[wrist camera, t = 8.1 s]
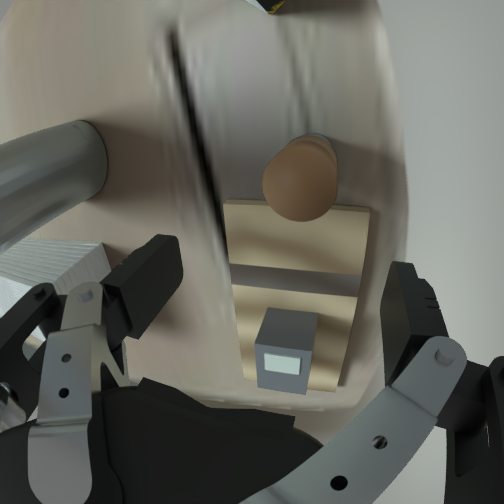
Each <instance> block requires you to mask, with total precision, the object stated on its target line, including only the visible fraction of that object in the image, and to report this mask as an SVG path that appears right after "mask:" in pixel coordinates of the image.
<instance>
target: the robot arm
mask: <svg viewBox="0 0 504 504" xmlns="http://www.w3.org/2000/svg"><path fill="white" fill-rule="evenodd" d="M106 175H107V155H106V151H105V147H104V144H103V141H102V139H101V137H100V136H99V134H98V132H97V131H96V130H95V129H94V128H93V126H91V125H90V124H88V123H87V122H84V121H79V120H76V121H72V122H68V123H65V124H61V125H57V126H54V127H50V128H47V129H43V130H40V131H37V132H34V133H31V134H28V135H25V136H22V137H19V138H17V139H14V140H11V141H8V142H6V143H3V144H1V145H0V255H1V254H2V253H4V252H5V251H6V250H8V249H9V248H11V247H12V246H13V245H15V244H16V243H18V242H19V241H21V240H22V239H23V238H25V237H26V236H28V235H29V234H31V233H32V232H34V231H35V230H37V229H38V228H40V227H41V226H43V225H45V224H46V223H48V222H49V221H51V220H53V219H54V218H56V217H57V216H59V215H61V214H62V213H64V212H66V211H67V210H69V209H71V208H73V207H74V206H76V205H78V204H80V203H81V202H83V201H85V200H87V199H88V198H90V197H92V196H94V195H95V194H96V193H98V192H99V191H100V189H101V188H102V187H103V184H104V182H105V179H106ZM182 279H183V266H182V260H181V254H180V248H179V242H178V239H177V237H176V236H172V235H162V234H157V235H156V236H154V237H153V238H152V239H151V240H150V241H149V242H147V243H146V244H145V245H144V246H142V247H140V248H138V249H136V250H134V251H133V252H132V253H131V254H130V255H129V256H128V257H127V259H124V260H123V261H122V262H121V263H120V265H118V266H117V267H115V268H114V269H113V270H112V271H111V272H110V273H109V274H108V275H107V276H106V277H105V278H104V279H103V280H101V281H100V282H99V283H97V282H85V283H82V284H80V285H78V286H76V287H75V288H73V289H72V290H71V291H70V292H69V294H68V295H58V294H57V292H56V290H55V288H54V285H53V284H52V283H49V282H44V283H40V284H38V285H36V286H34V287H32V288H31V289H30V290H29V291H28V292H27V293H26V294H25V295H23V296H22V297H21V298H20V299H19V300H18V301H17V302H16V303H15V304H14V305H13V306H12V307H11V308H10V309H9V310H8V311H7V312H6V313H5V314H4V315H3V316H2V317H1V318H0V504H372V503H373V502H374V501H375V500H376V499H377V498H378V497H379V496H380V495H381V493H383V491H384V490H385V489H386V488H387V487H388V486H389V485H390V484H391V483H392V481H393V480H394V479H395V478H396V477H397V476H398V474H399V473H400V472H401V471H402V470H403V468H404V467H405V466H406V465H407V463H408V462H409V461H410V460H411V458H412V457H413V456H414V454H415V453H416V452H417V450H418V449H419V448H420V446H421V445H422V443H423V442H424V441H425V439H426V438H427V436H428V435H429V434H430V432H431V431H432V429H433V428H434V426H438V427H441V428H444V429H446V437H447V462H446V484H445V496H444V497H445V498H444V504H504V356H500V357H497V358H495V359H494V360H493V361H492V363H491V364H490V365H489V367H486V366H483V365H480V364H477V363H474V362H471V361H468V360H467V356H466V353H465V351H464V349H463V348H462V347H461V345H460V344H459V343H457V342H456V341H455V340H453V339H451V338H449V335H448V332H447V329H446V325H445V322H444V320H443V316H442V313H441V310H440V309H439V304H438V301H436V295H435V293H434V290H433V288H432V287H431V286H430V285H429V283H428V282H427V281H426V280H425V279H420V278H418V276H417V273H416V270H415V267H414V265H413V264H412V263H405V262H397V261H393V262H392V263H391V266H390V269H389V273H388V277H387V281H386V284H385V288H384V292H383V295H382V299H381V306H380V317H381V327H382V339H383V353H384V373H385V388H384V389H383V390H382V391H381V392H380V393H379V394H378V395H377V396H376V397H375V398H374V399H373V400H372V401H371V402H370V403H369V404H368V405H367V406H366V407H365V409H363V411H362V412H360V413H359V414H358V415H357V416H356V417H355V418H354V419H353V421H351V422H350V423H349V424H348V425H347V426H346V427H345V428H344V429H343V430H342V431H341V432H339V433H338V434H337V435H336V436H335V437H334V438H333V439H332V440H331V441H329V442H328V443H327V444H326V445H325V446H324V445H322V444H321V443H320V442H319V441H318V440H317V439H315V438H314V437H312V436H311V435H309V434H307V433H305V432H304V431H302V430H300V429H297V428H294V427H293V425H294V421H295V416H289V415H283V414H278V413H272V412H267V411H262V410H256V409H224V408H223V409H222V408H210V407H207V406H205V405H203V404H201V403H199V402H198V401H196V400H194V399H193V398H191V397H189V396H188V395H186V394H184V393H183V392H181V391H179V390H178V389H176V388H174V387H171V386H168V385H165V384H162V383H159V382H156V381H153V380H150V379H147V378H145V377H143V378H142V380H141V382H140V383H139V385H138V386H130V383H129V375H128V366H127V356H126V346H125V343H124V340H123V339H124V338H125V337H126V336H129V337H132V338H135V339H138V340H139V338H140V337H141V336H142V334H143V333H144V331H145V330H146V329H147V327H148V326H149V325H150V323H151V322H152V321H153V320H154V318H155V317H156V316H157V314H158V313H159V312H160V310H161V309H162V308H163V306H164V305H165V304H166V302H167V301H168V300H169V299H170V297H171V296H172V295H173V293H174V292H175V291H176V289H177V288H178V287H179V286H180V284H181V282H182ZM37 326H38V327H39V329H40V330H41V332H42V334H43V336H44V337H45V339H46V340H45V341H44V342H43V343H42V345H41V346H40V347H39V348H38V349H37V351H36V352H35V353H34V354H33V356H32V357H31V358H30V359H29V361H28V360H27V359H26V357H25V356H24V354H23V351H22V345H23V343H24V341H25V340H26V339H27V338H28V337H29V335H30V334H31V333H32V332H33V331H34V330H35V329H36V327H37ZM37 405H38V414H37V418H36V419H34V420H32V421H28V422H27V420H28V419H29V417H30V416H31V414H32V413H33V411H34V410H35V408H36V407H37ZM487 427H488V432H487ZM488 436H489V443H488Z"/></svg>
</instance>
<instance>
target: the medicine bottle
mask: <svg viewBox="0 0 504 504" xmlns="http://www.w3.org/2000/svg"><path fill="white" fill-rule="evenodd" d="M246 1H247V2H249V3H251V4H252V5H254V6H256V7H257V8H259V9H260V10H262V11H264V12H265V13H267V14H272V13H274V12H275V11H276V10H277V9H278V8H279V7H280V6H281V5H282V4H283V3H284V2H285V1H286V0H246Z"/></svg>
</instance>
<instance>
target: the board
mask: <svg viewBox="0 0 504 504" xmlns="http://www.w3.org/2000/svg"><path fill="white" fill-rule="evenodd" d="M223 210H224V219H225V228H226V237H227V246H228V255H229V266H230V274H231V283H232V289H233V297H234V305H235V312H236V320H237V328H238V335H239V343H240V350H241V358H242V365H243V372H244V379H245V380H251V381H256V382H257V372H256V359H255V347H254V343H255V340H256V337H257V335H258V332H259V329H260V326H261V324H262V321H263V318H264V316H265V313H266V310H267V307H271V308H279V309H288V310H296V311H305V312H314V313H318V319H317V327H316V336H315V344H314V351H313V358H312V364H311V370H310V375H309V380H308V386H307V389H309V390H317V391H326V392H335V391H336V387H337V384H338V380H339V377H340V373H341V369H342V365H343V361H344V357H345V353H346V349H347V345H348V341H349V337H350V332H351V328H352V323H353V318H354V314H355V309H356V304H357V298H358V294H359V289H360V283H361V277H362V270H363V263H364V257H365V250H366V243H367V235H368V227H369V218H370V210H369V207H359V206H347V205H334V204H333V205H332V207H331V208H330V209H329V211H328V212H327V213H325V214H324V215H323V216H321V217H320V218H317V219H315V220H312V221H307V222H297V221H292V220H288V219H286V218H284V217H282V216H280V215H279V214H277V213H276V212H275V211H274V210H273V209H272V208H271V207H270V206H269V204H268V203H267V201H265V200H237V199H228V200H227V201H225V202H224V203H223Z"/></svg>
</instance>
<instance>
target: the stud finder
mask: <svg viewBox="0 0 504 504" xmlns="http://www.w3.org/2000/svg"><path fill="white" fill-rule="evenodd" d="M317 319H318V313H314V312H305V311H296V310H288V309H279V308H271V307H267V310H266V313H265V316H264V318H263V321H262V324H261V326H260V329H259V332H258V335H257V337H256V340H255V343H254V347H255V359H256V372H257V384H258V387H259V388H264V389H270V390H276V391H282V392H289V393H296V394H304V395H306V391H307V386H308V380H309V375H310V370H311V364H312V358H313V351H314V344H315V336H316V327H317Z"/></svg>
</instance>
